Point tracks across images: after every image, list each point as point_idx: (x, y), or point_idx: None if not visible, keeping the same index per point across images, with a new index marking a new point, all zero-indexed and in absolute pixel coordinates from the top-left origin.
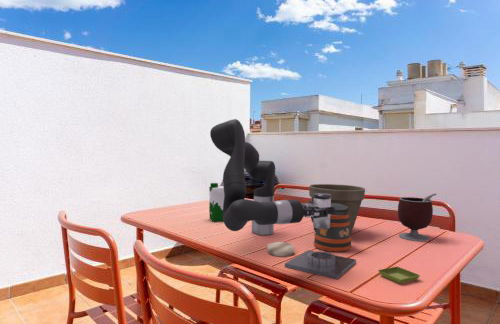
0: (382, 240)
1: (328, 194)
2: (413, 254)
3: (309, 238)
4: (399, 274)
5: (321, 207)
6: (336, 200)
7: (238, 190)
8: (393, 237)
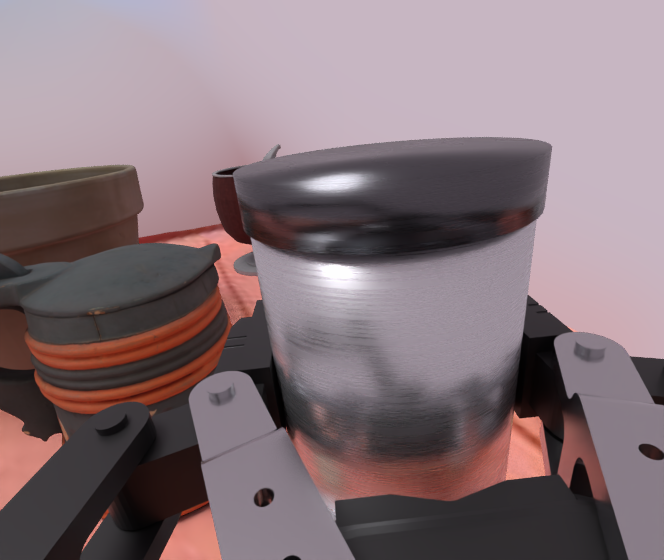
0: (240, 304)
1: (407, 143)
2: None
3: (4, 475)
4: None
5: (587, 373)
6: (66, 237)
7: None
8: (238, 282)
